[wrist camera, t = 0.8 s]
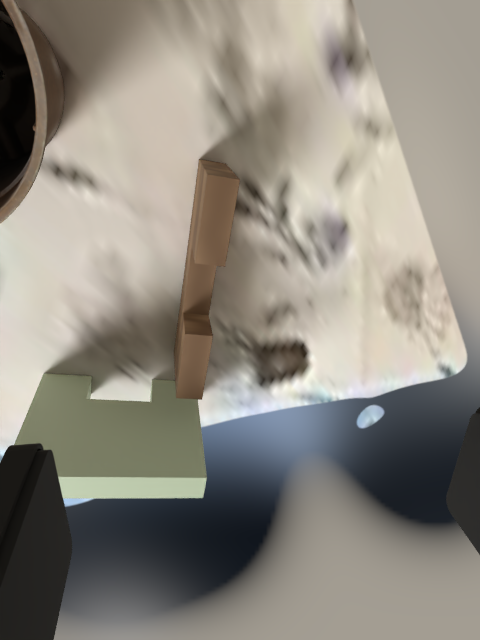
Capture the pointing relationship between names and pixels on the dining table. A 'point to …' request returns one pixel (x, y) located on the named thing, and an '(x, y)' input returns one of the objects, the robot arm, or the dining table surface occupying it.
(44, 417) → the green slotted plate
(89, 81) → the dining table surface
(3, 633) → the robot arm
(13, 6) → the plant pot
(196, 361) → the walnut slotted plate
